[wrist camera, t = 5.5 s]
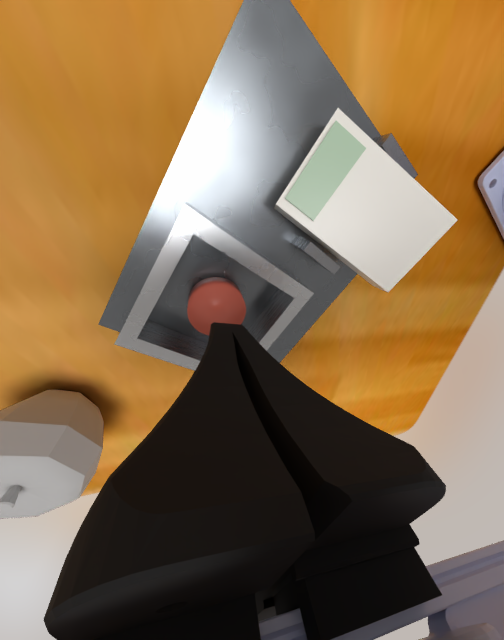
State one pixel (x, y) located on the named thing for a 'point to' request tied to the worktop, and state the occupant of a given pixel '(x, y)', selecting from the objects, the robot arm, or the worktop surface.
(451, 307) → the worktop surface
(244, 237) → the panel
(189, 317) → the button
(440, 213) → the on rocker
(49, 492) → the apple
